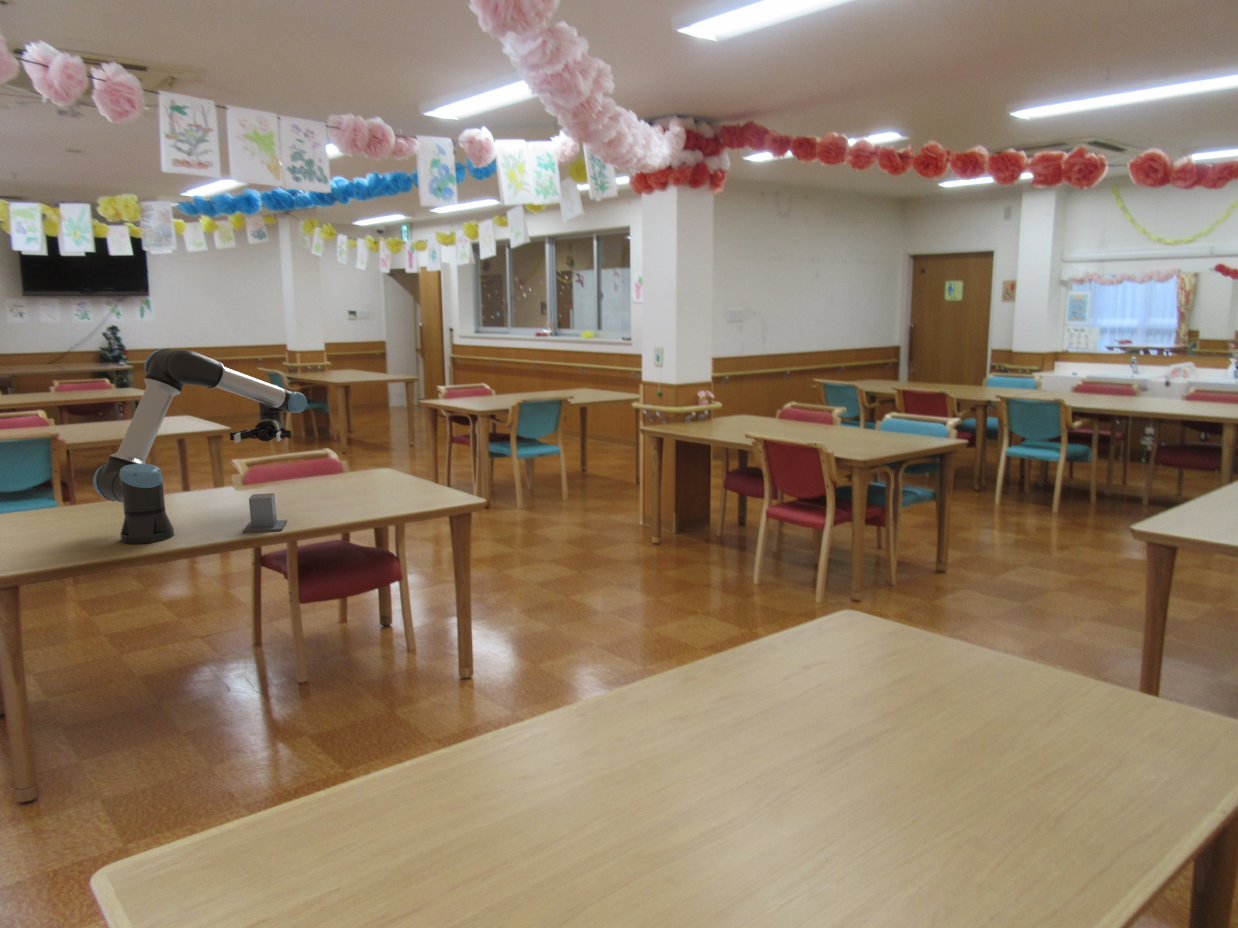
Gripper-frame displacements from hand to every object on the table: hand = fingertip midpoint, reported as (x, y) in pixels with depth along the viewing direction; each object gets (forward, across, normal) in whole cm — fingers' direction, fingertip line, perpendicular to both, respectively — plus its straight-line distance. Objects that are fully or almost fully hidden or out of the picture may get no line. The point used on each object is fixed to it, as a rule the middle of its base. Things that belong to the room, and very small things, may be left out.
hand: (256, 438), depth 303 cm
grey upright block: (+14, -3, -27) cm, 31 cm away
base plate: (+15, -3, -28) cm, 32 cm away
